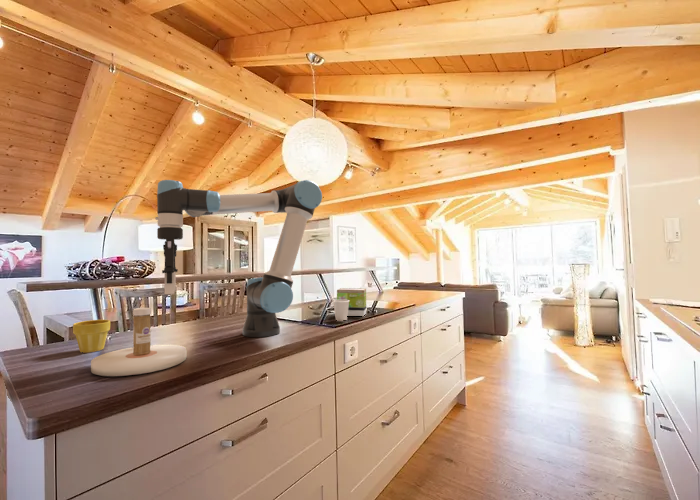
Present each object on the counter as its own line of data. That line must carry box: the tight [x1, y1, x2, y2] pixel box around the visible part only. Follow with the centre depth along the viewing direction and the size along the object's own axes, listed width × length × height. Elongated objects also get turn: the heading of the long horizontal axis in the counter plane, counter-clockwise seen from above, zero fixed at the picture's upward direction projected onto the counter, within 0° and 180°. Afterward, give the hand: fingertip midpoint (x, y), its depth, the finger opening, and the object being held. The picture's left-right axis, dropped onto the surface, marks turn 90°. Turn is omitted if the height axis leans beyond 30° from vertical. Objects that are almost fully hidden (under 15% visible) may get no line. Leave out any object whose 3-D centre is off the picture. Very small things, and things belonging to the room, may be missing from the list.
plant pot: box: [72, 319, 111, 354], centre depth 120 cm, size 10×10×10 cm
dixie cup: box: [332, 299, 349, 322], centre depth 173 cm, size 8×8×10 cm
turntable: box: [90, 329, 188, 377], centre depth 102 cm, size 24×24×7 cm
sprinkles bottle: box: [132, 307, 152, 356], centre depth 102 cm, size 5×5×14 cm
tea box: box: [336, 287, 367, 317], centre depth 188 cm, size 15×10×15 cm
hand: (170, 292), depth 114 cm, fingers open, 12 cm apart
